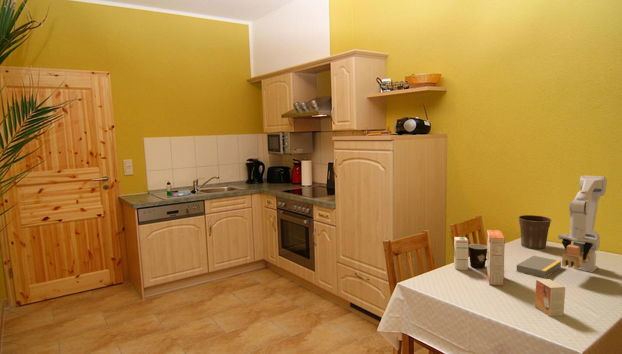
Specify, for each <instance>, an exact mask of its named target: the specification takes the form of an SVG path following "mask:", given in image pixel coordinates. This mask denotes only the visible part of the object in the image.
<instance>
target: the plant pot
mask: <svg viewBox="0 0 622 354" xmlns="http://www.w3.org/2000/svg"><path fill="white" fill-rule="evenodd" d="M518 220H519V221H518V222H519V224H518V225H519V228H520V245H521V246H523V247H525V248H528V249H532V250H534V249H535V250H539V249H541V250H542V249H545V248H546V247H547V240H548V235H549V230H550V229H549V228H550V227H551V222H552V219H551V218H550V217H547V216H544V215H542V216H541V215H535V214H534V215H531V214H524V215H519V216H518Z"/></svg>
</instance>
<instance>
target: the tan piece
mask: <svg viewBox="0 0 622 354" xmlns="http://www.w3.org/2000/svg"><path fill="white" fill-rule="evenodd" d="M561 258H562V259H561V267H564V268H565V267H567V268H570V269H571V268H572V267H573V266H574V268H573V269H574V270H579V269H578V268H579V267H581V266H582V265H583V264H585V263H586V262H587V261H589V260H590V250H589V252H588V255H587V258H586V260H583V252H580V256H574V255H569V254H566V253H562V257H561Z"/></svg>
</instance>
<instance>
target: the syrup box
mask: <svg viewBox="0 0 622 354" xmlns="http://www.w3.org/2000/svg"><path fill="white" fill-rule="evenodd" d="M453 239H454V240H453V244H454V246H453V251H454V252H453V266H454V269H455V270H461V271H468V270H469V247H468V246H469V239H468V238H467V237H464V236H454V237H453Z"/></svg>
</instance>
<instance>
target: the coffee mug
mask: <svg viewBox="0 0 622 354" xmlns="http://www.w3.org/2000/svg"><path fill="white" fill-rule="evenodd" d="M468 257H469V264H470V267H471V268H472V269H476V270H483V269H485V268H486V264H487V245H484V244H481V243H480V244H479V243H471V244H468Z"/></svg>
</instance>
